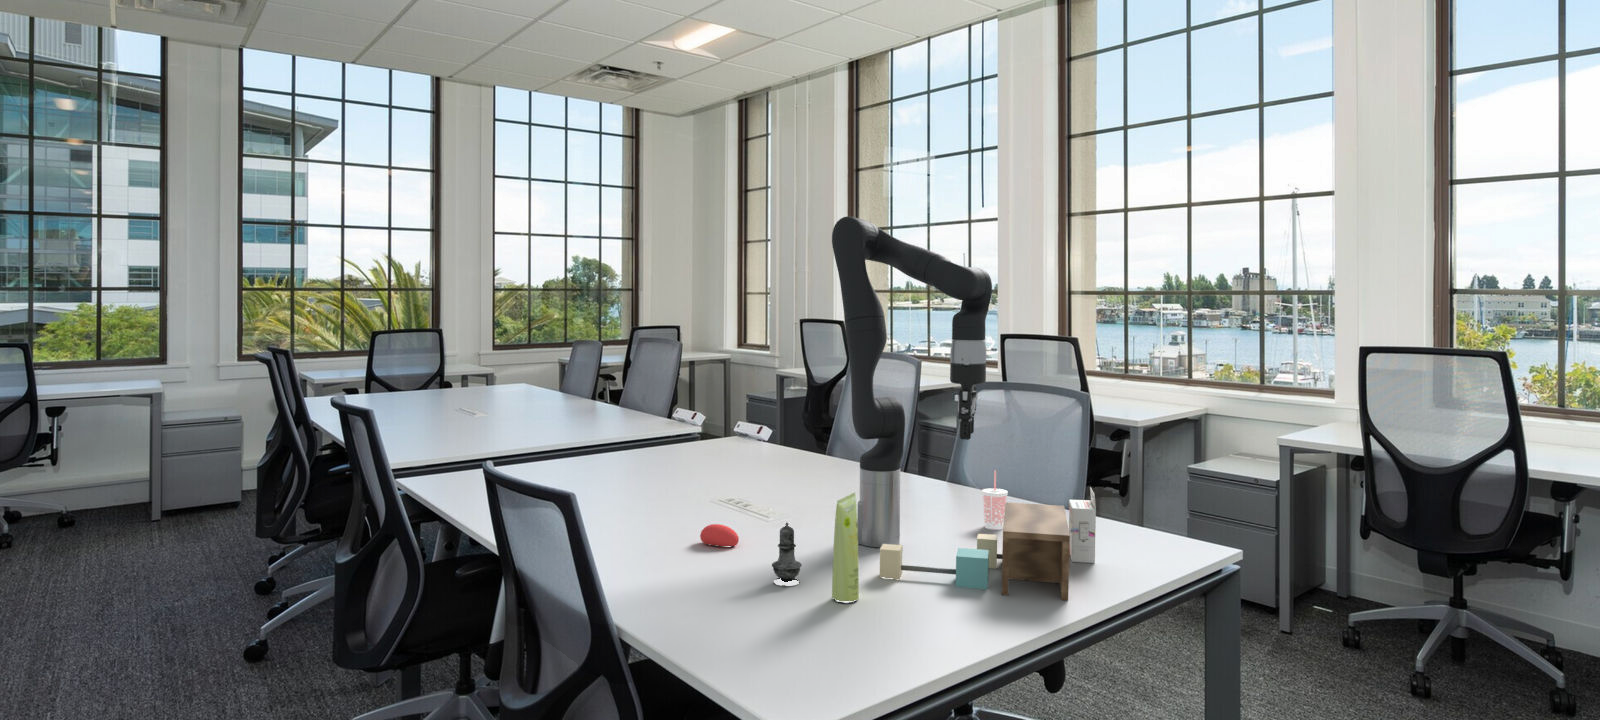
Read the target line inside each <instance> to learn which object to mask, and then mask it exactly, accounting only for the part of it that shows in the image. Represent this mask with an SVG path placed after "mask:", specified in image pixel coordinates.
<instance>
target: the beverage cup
mask: <svg viewBox="0 0 1600 720" xmlns="http://www.w3.org/2000/svg"><path fill="white" fill-rule="evenodd" d="M981 492H982V493H981V495H982V497H983V498H982V499H983V516H984V517H983V520H984V523H983V524H984V527H985V528H986V529H987V530H1003V525H1004V514H1005V503H1006V502H1007V496H1008V493H1009V492H1008V490H1006V489H1003V488H997V470H995V469H994V471H993V488H990V487H989V488H983V489H982V490H981Z"/></svg>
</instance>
